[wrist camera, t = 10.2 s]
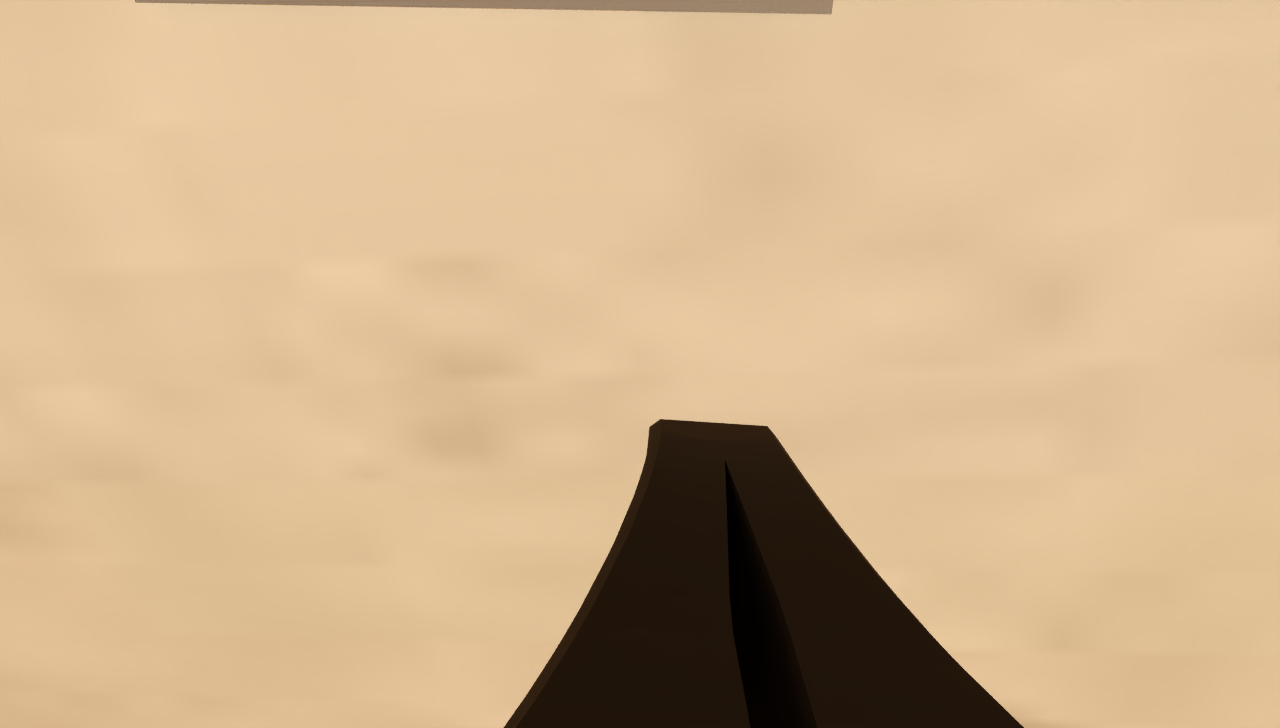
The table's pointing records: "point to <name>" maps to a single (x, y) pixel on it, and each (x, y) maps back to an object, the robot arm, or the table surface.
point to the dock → (565, 4)
